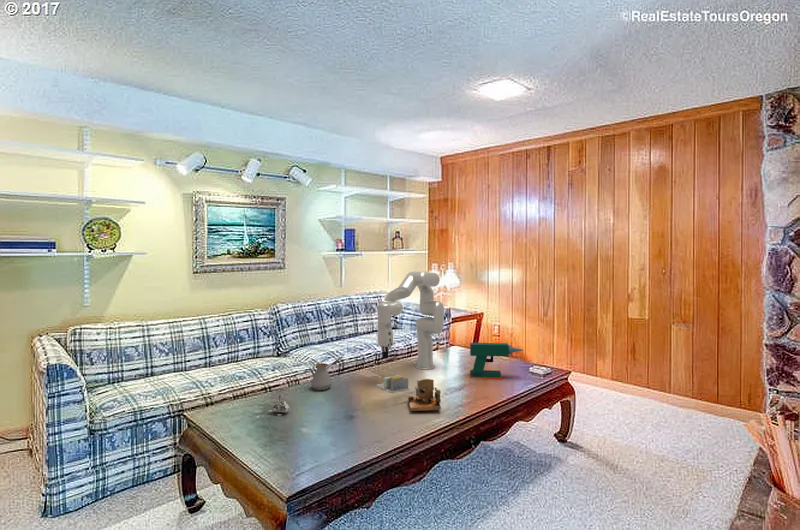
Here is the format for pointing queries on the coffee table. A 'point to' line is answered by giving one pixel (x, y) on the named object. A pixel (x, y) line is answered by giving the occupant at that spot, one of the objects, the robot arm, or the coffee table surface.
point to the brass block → (395, 378)
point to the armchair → (425, 396)
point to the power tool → (481, 354)
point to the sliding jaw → (387, 382)
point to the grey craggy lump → (281, 405)
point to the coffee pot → (322, 376)
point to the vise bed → (396, 385)
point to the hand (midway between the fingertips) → (385, 358)
